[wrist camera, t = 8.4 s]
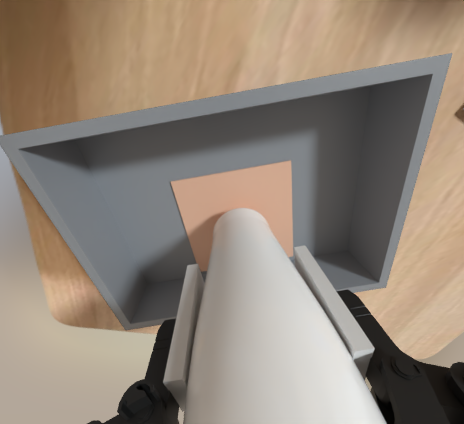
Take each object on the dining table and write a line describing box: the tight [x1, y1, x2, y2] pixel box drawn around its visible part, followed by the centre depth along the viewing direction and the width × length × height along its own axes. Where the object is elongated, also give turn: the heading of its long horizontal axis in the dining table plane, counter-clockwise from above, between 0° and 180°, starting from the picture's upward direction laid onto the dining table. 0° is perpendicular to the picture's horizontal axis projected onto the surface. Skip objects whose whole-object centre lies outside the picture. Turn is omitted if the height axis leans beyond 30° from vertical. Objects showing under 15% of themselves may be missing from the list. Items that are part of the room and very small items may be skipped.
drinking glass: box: [183, 208, 387, 424], centre depth 12 cm, size 7×7×15 cm
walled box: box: [0, 53, 452, 330], centre depth 17 cm, size 18×26×6 cm
